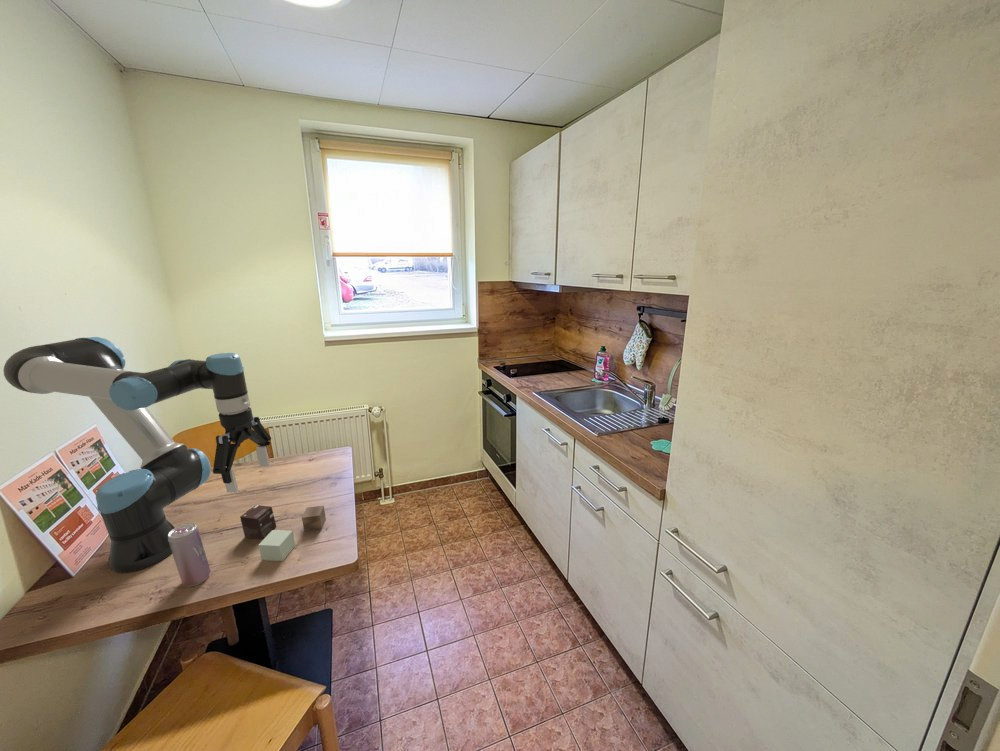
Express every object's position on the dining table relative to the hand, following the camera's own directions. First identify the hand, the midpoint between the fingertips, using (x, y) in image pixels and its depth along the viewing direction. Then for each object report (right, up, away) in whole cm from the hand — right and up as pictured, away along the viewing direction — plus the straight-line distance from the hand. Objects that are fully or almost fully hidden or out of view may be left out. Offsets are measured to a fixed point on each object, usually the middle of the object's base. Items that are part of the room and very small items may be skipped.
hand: (249, 478), depth 112 cm
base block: (+10, -20, -3) cm, 23 cm away
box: (0, -18, +5) cm, 19 cm away
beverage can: (-6, -23, -12) cm, 27 cm away
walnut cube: (+15, -17, +8) cm, 24 cm away
